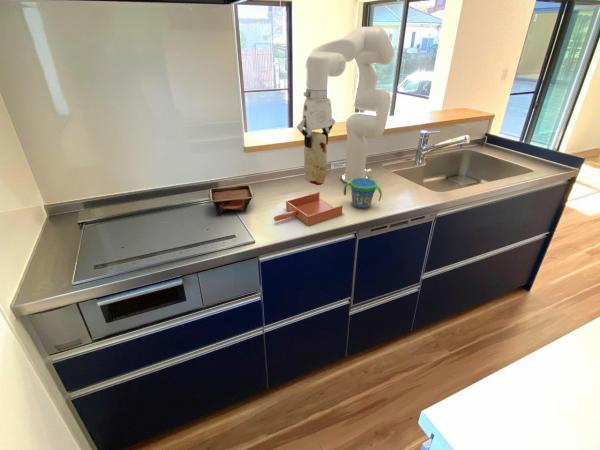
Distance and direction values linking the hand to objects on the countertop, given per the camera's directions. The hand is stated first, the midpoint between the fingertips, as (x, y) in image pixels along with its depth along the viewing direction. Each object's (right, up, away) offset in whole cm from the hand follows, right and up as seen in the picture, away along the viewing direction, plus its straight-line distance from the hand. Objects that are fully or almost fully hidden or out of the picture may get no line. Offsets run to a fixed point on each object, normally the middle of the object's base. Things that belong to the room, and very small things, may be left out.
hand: (316, 145), depth 127 cm
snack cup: (+20, -21, +18) cm, 34 cm away
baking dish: (-34, -22, +17) cm, 44 cm away
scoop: (-5, -26, +10) cm, 28 cm away
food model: (0, -13, +8) cm, 15 cm away
